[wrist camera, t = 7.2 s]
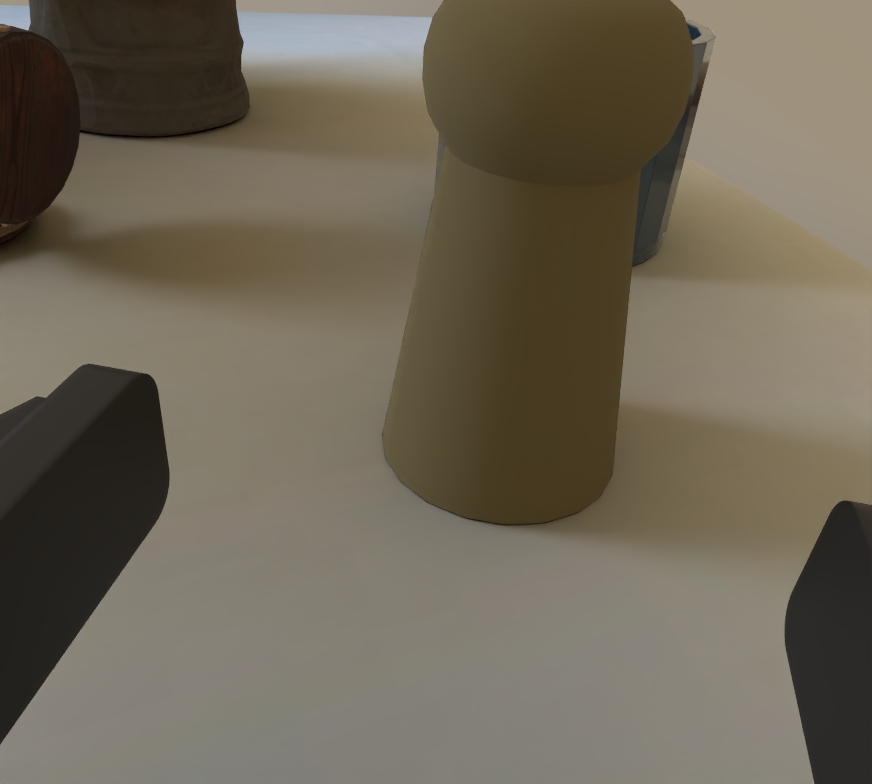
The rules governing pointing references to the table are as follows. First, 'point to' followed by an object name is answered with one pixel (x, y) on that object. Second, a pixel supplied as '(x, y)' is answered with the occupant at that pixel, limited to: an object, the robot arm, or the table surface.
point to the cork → (530, 248)
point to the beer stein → (149, 62)
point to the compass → (33, 126)
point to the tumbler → (661, 158)
